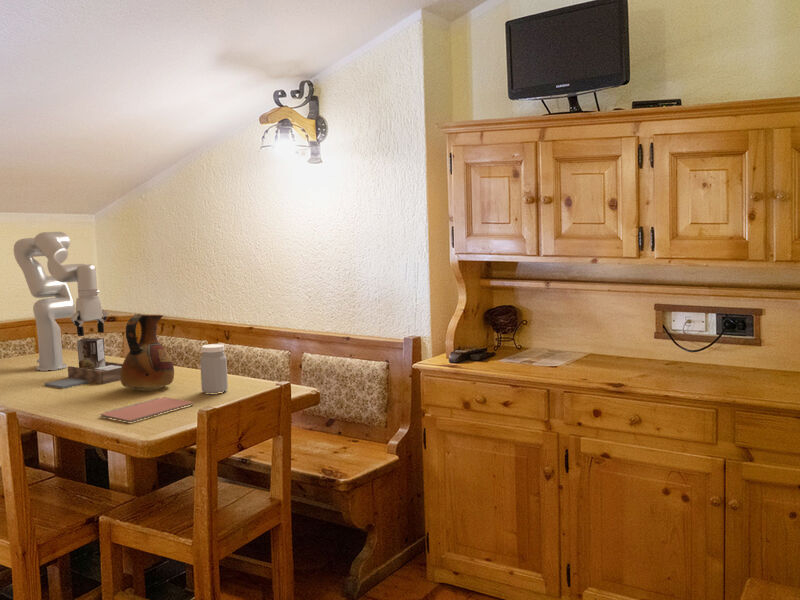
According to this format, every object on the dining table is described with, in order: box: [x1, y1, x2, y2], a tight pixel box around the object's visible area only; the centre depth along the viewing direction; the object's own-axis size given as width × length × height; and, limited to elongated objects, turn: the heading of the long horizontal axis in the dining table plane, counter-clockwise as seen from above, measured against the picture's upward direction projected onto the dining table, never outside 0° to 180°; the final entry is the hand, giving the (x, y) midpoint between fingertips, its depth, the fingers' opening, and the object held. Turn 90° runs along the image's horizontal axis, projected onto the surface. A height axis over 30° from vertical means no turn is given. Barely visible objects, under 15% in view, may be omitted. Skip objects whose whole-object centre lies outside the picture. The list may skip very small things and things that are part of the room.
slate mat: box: [44, 377, 90, 389], centre depth 305 cm, size 12×12×1 cm
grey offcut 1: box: [95, 365, 115, 371], centre depth 315 cm, size 4×8×5 cm, turn 146°
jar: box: [199, 343, 229, 394], centre depth 287 cm, size 10×10×18 cm
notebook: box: [99, 396, 195, 422], centre depth 261 cm, size 27×17×2 cm, turn 147°
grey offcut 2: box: [102, 366, 122, 371], centre depth 313 cm, size 4×8×5 cm, turn 150°
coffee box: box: [76, 337, 106, 370], centre depth 319 cm, size 9×6×16 cm
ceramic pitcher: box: [120, 313, 175, 392], centre depth 293 cm, size 20×20×30 cm
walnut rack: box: [67, 360, 123, 385], centre depth 317 cm, size 23×15×5 cm, turn 58°
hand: (91, 334), depth 318 cm, fingers open, 9 cm apart
